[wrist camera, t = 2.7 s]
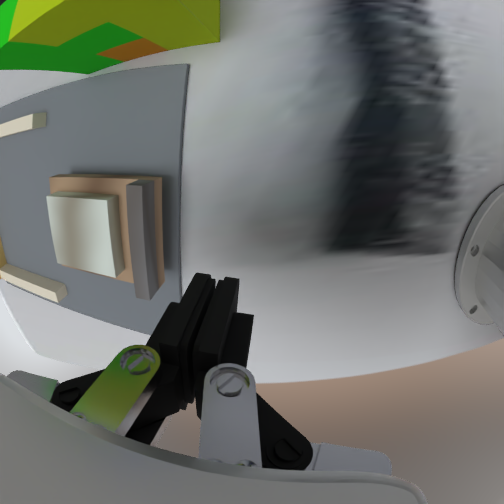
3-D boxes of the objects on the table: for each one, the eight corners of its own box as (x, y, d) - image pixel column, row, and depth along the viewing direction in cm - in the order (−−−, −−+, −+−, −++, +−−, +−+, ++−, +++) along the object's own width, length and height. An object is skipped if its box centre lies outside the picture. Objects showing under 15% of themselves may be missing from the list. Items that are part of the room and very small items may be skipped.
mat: (189, 64, 13) (166, 52, 10) (184, 340, 23) (171, 368, 19) (-15, 115, 16) (-37, 120, 12) (8, 281, 25) (-8, 294, 22)
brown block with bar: (170, 173, 16) (142, 185, 13) (171, 272, 19) (149, 300, 16) (68, 170, 17) (35, 182, 14) (78, 253, 20) (51, 273, 17)
